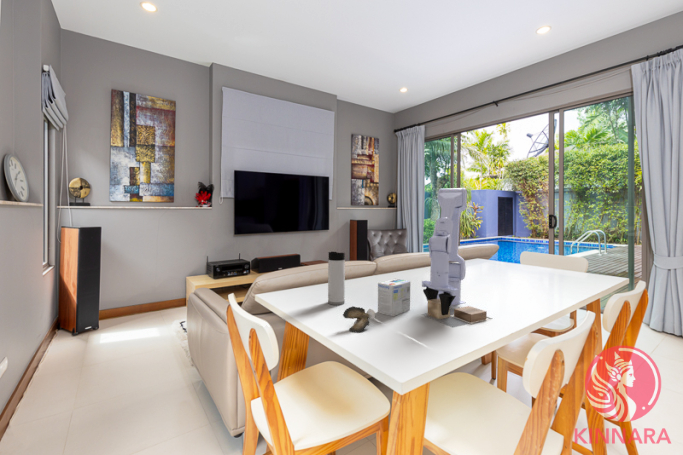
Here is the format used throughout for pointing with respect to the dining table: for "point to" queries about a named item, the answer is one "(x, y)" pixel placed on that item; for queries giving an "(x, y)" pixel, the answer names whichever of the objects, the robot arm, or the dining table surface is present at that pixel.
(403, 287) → the light bulb box
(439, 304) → the oak cube
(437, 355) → the dining table surface
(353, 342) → the dining table surface
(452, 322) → the mat
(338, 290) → the travel mug
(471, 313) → the walnut slab
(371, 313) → the eagle figurine
